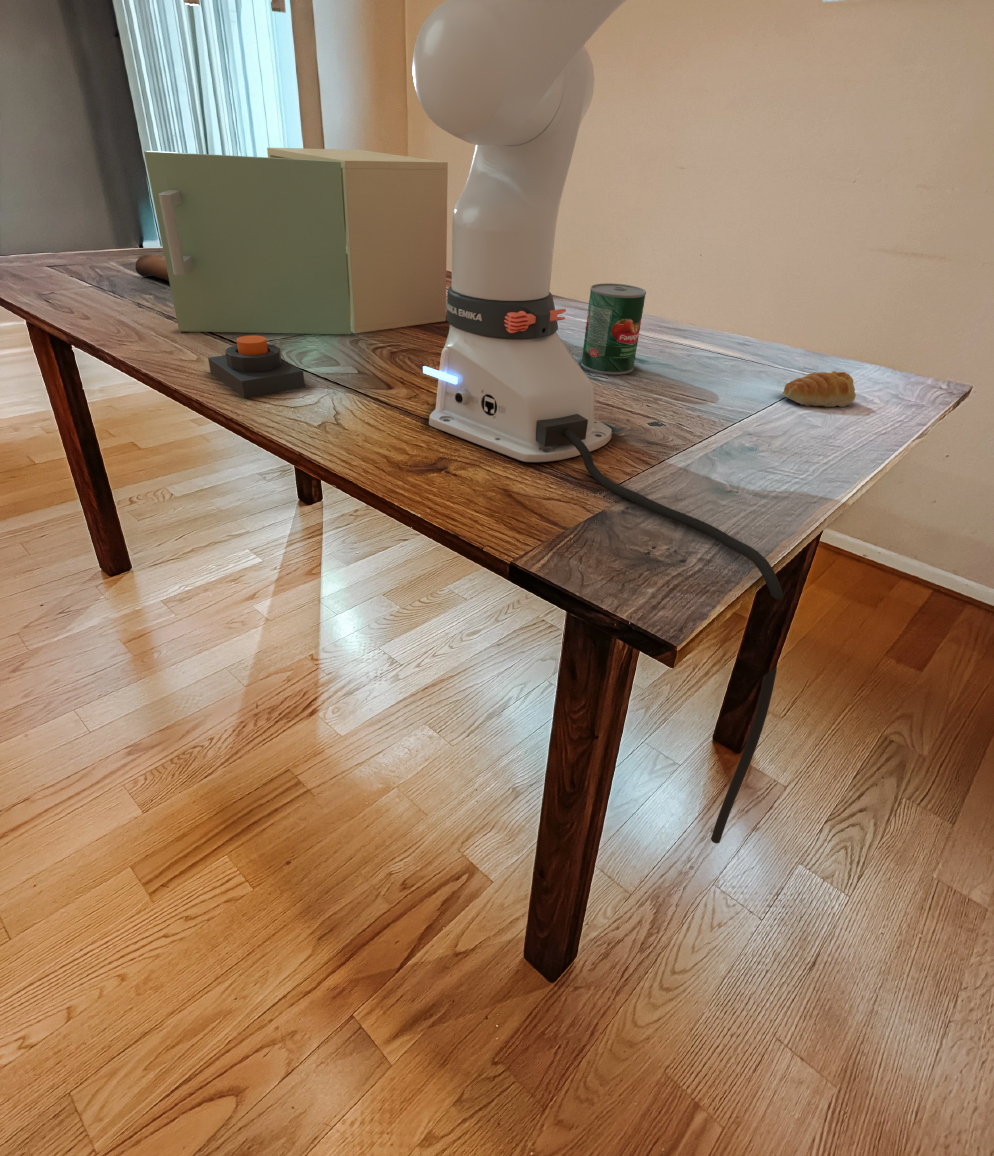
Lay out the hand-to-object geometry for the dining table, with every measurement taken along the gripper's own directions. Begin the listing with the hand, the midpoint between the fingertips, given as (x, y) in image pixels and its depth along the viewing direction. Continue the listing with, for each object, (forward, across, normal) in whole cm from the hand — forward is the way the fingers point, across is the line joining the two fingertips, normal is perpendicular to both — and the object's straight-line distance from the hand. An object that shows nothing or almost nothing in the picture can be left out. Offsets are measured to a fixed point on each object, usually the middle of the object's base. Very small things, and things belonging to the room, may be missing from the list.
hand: (235, 8), depth 79 cm
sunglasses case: (+39, +23, -47) cm, 65 cm away
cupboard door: (+39, +3, -8) cm, 40 cm away
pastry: (+39, -74, +20) cm, 87 cm away
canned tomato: (+39, -48, +6) cm, 62 cm away
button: (+35, +1, +12) cm, 38 cm away
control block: (+39, +1, +12) cm, 41 cm away
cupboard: (+39, -12, -27) cm, 49 cm away
